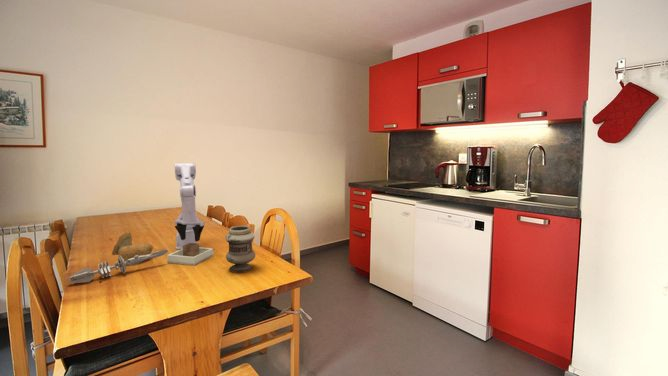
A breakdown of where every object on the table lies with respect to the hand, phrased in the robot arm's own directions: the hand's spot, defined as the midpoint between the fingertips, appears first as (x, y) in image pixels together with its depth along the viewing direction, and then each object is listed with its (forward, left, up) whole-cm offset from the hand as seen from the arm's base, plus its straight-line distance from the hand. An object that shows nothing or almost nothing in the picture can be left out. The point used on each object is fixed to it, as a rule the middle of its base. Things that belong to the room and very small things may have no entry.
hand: (190, 240), depth 150 cm
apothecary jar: (+29, -5, -9) cm, 31 cm away
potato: (-22, -9, -9) cm, 26 cm away
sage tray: (0, 0, -9) cm, 9 cm away
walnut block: (0, 0, -8) cm, 8 cm away
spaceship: (-15, -23, -9) cm, 29 cm away
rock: (-41, +1, -9) cm, 42 cm away
